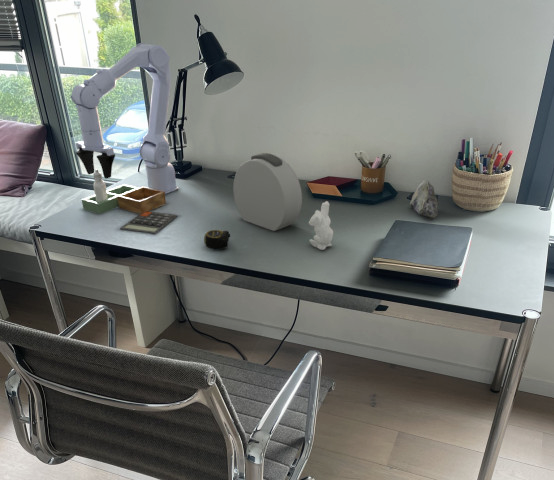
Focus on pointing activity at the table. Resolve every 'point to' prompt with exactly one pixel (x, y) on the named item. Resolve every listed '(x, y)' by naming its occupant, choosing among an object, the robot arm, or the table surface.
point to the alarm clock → (267, 192)
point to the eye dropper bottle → (99, 187)
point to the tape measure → (216, 239)
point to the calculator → (149, 222)
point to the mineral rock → (425, 200)
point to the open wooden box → (141, 200)
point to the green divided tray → (107, 204)
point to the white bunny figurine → (321, 227)
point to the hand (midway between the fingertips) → (99, 175)
